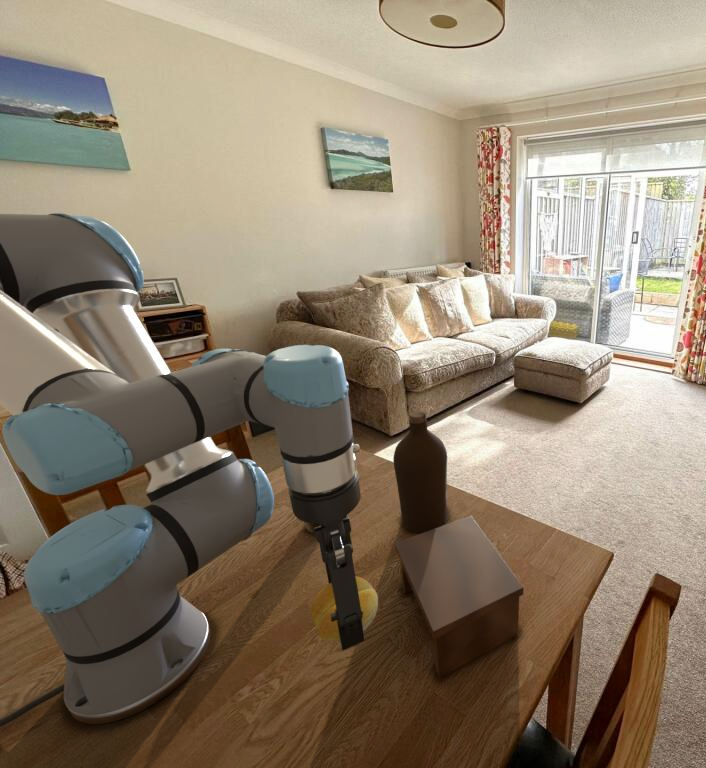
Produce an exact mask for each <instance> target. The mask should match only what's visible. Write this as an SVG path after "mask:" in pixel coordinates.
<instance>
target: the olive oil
mask: <svg viewBox="0 0 706 768" xmlns="http://www.w3.org/2000/svg"><path fill="white" fill-rule="evenodd" d="M408 416H409V420H408V421H409V422H408V424H409V431H408V432H407V433H406V435H405V436H404V437H403V438H402V439H400V441H399V442H398V443H397V444H396V447H395V449H394V453H393V460H392V461H393V467H394V474H395V480H396V485H397V492H398V498H399V505H400V513H401V514H400V515H401V521H402V524H403V526H404V527H405V529H407V530H409V531H411V532H414V533H424V532H427V531H430V530H433V529H435V528H438V527H441V526H443V525H444V523H445V522H446V520H447V516H448V512H447V509H448V507H447V506H448V505H447V503H448V502H447V500H448V499H447V498H448V497H447V496H448V495H447V494H448V491H447V489H448V452H447V449H446V445H445V444H444V442H443V441H442V440H441V438H440V437H438V436H437V435H436V434H434V433H433V432H431V431H430V430H428V419H427V413H426V412H425V411H424V410H414V411H411V412H410V413H409V415H408Z"/></svg>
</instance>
